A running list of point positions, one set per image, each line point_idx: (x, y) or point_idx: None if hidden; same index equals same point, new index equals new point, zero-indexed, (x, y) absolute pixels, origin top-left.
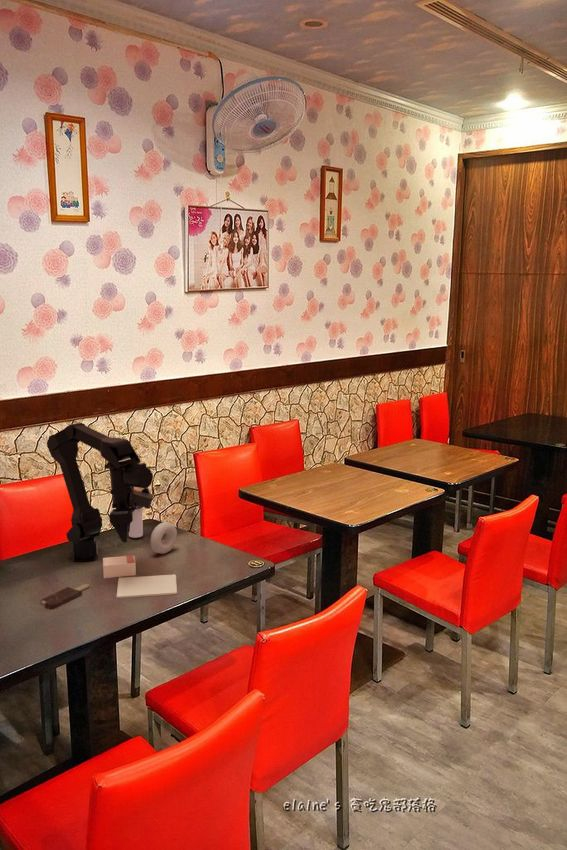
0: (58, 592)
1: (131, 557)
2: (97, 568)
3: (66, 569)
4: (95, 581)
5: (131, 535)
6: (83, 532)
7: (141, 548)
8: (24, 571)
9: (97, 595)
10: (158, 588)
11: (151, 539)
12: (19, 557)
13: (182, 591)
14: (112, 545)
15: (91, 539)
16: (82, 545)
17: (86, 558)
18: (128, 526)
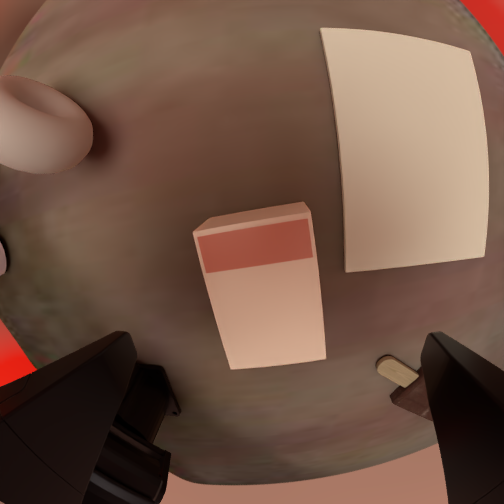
0: (419, 410)
1: (227, 244)
2: (225, 355)
3: (234, 422)
4: (343, 346)
5: (2, 268)
6: (161, 481)
7: (47, 221)
8: (246, 472)
9: (447, 316)
10: (452, 104)
11: (55, 164)
12: (173, 473)
13: (446, 32)
14: (50, 316)
15: (120, 419)
16: (152, 431)
17: (163, 389)
18: (101, 367)
